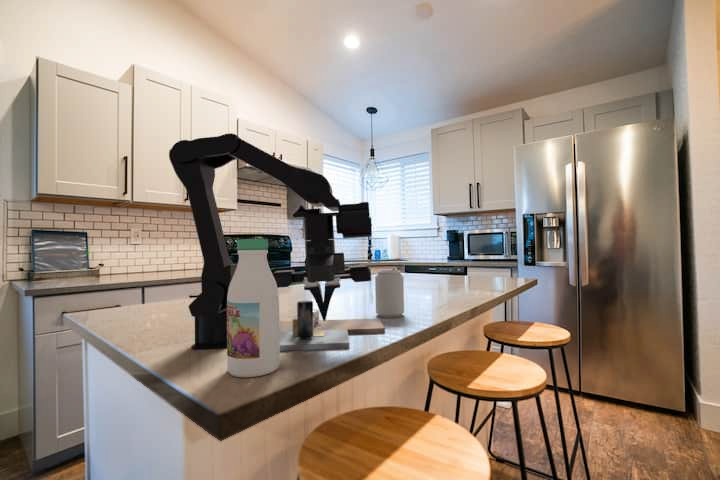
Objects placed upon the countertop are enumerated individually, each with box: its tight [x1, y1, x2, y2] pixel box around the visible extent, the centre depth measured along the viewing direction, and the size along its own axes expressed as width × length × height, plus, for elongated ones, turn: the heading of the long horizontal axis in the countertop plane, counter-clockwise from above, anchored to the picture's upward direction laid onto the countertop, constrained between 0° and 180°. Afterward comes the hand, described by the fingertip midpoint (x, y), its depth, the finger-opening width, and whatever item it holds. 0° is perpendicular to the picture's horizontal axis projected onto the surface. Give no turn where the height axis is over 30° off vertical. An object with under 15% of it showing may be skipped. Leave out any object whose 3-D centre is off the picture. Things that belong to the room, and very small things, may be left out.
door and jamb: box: [279, 314, 386, 352], centre depth 73 cm, size 24×20×4 cm
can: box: [374, 269, 405, 319], centre depth 92 cm, size 8×8×12 cm
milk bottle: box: [226, 238, 281, 378], centre depth 53 cm, size 8×8×20 cm
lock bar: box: [296, 300, 320, 338], centre depth 73 cm, size 15×4×6 cm, turn 3°
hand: (324, 320), depth 67 cm, fingers closed
